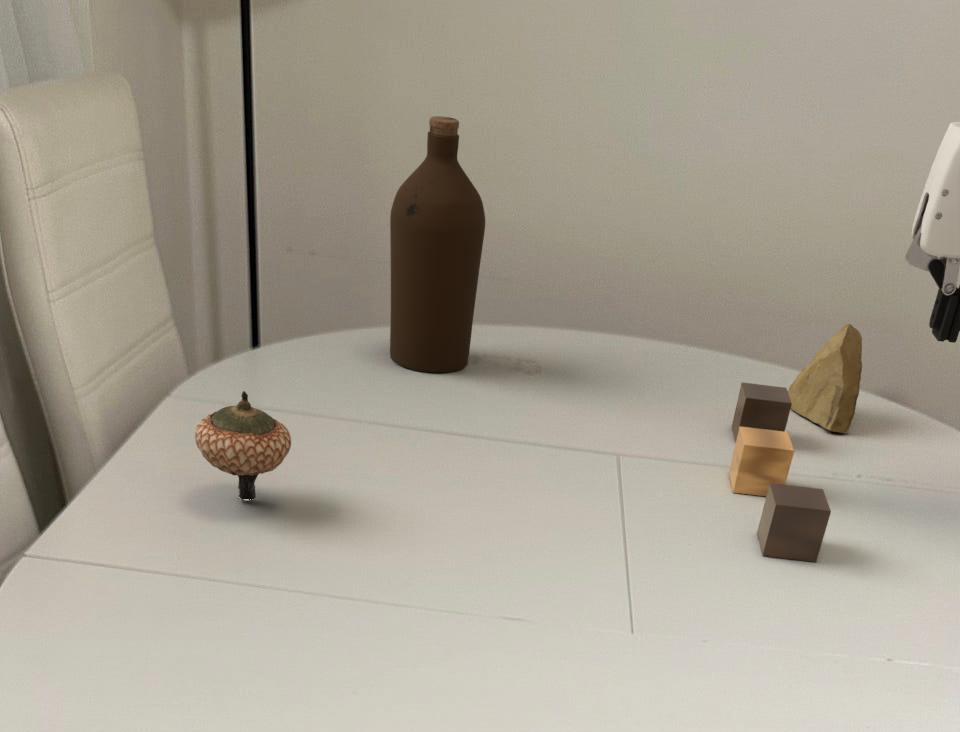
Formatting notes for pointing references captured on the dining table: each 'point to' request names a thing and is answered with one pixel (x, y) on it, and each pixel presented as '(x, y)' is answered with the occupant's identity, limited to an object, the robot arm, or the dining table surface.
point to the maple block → (760, 460)
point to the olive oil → (435, 258)
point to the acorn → (243, 443)
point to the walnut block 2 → (793, 522)
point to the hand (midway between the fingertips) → (943, 337)
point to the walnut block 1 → (761, 408)
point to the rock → (831, 382)
